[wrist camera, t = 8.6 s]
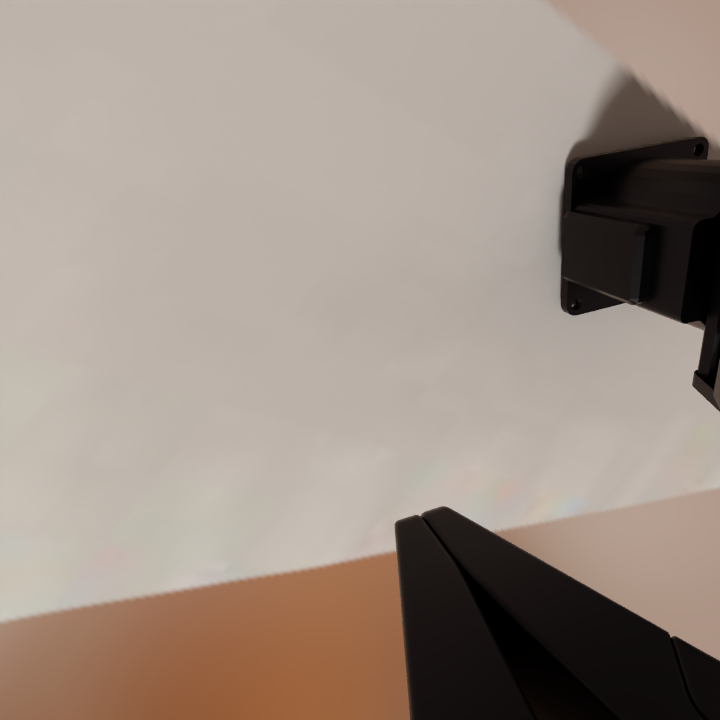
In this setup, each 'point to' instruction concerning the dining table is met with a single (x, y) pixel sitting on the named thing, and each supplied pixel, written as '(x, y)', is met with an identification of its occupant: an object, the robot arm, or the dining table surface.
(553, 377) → the dining table surface
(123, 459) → the dining table surface
